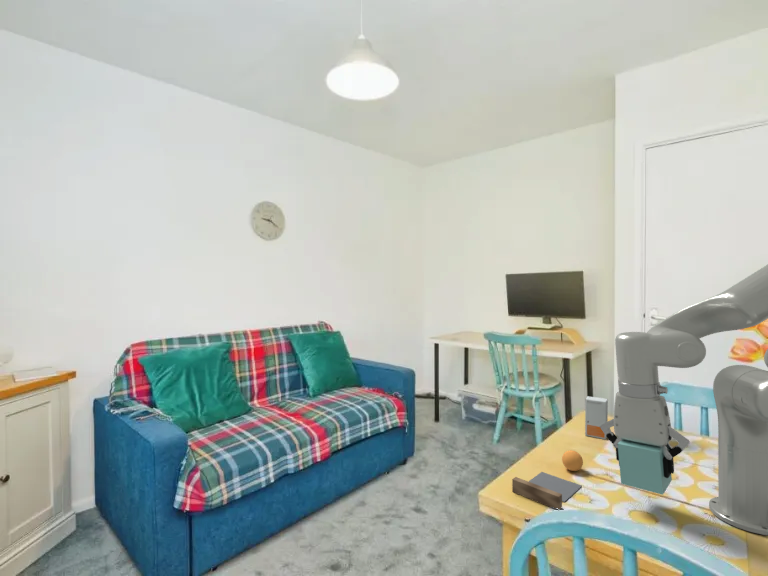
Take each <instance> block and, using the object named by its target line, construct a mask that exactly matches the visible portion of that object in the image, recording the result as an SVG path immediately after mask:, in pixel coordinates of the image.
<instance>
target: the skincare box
mask: <svg viewBox="0 0 768 576" xmlns="http://www.w3.org/2000/svg"><path fill="white" fill-rule="evenodd" d="M608 401H609V399H608V398H604V397H597V396H589V395H587V396H586V398H585V404H584V405H585V409H584V410H585V414H584V417H585V418H584V423H585V424H584V425H585V427H584V428H585V429H584V430H585V432H584V435H585V437H592V438H597V439H601V440H604V441H605V440H607V439H608V438H607V437H606V435H605V434H604V432H603V431H602V430H601V428H600V426H601V425H602V424H604V423H606V422H608V421H609V419H608V412H609V410H608V407H609V405H608V404H609V403H608Z"/></svg>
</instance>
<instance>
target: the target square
mask: <svg viewBox="0 0 768 576" xmlns="http://www.w3.org/2000/svg"><path fill="white" fill-rule="evenodd" d="M527 481H528V482H531V483H533V484H536V485H539V486H541V487H544V488H547V489H549V490H552V491H555V492H557V493H560V494H562V501H563V502H562V503H565V501H566V500H567V499H568V498H569V499H570V498H571V497H572V496H573V495H574V494H576V493H577V490H578V489H579V488H580V489H582V487H581V486H582V485H581V484H579V483H575V482H573V481H571V480H567V479H564V478H561V477H558V476H555V475H552V474H550V473H547V472H543V471H541V472H539V473H538V474H537V475H535V476H534V477H532V478H531V479H530V480H527ZM580 489H579V490H580ZM579 490H578V491H579ZM569 499H568V500H569ZM568 500H567V501H568ZM567 501H566V502H567Z"/></svg>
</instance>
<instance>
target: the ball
mask: <svg viewBox="0 0 768 576" xmlns="http://www.w3.org/2000/svg"><path fill="white" fill-rule="evenodd" d="M561 461H562V464H563V465H564V468H566V469H567V470H569V471H571V472H576V471H580V470H581V469H582V468H583V465H584V460H583V458H582V456H581V454H580V453H579V452H577V451H575V450H572V449H571V450H570V449H569V450H566V451H564V453H563V454H562V456H561Z"/></svg>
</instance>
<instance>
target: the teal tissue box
mask: <svg viewBox="0 0 768 576" xmlns="http://www.w3.org/2000/svg"><path fill="white" fill-rule="evenodd" d="M669 442H670V441H668V443H669ZM669 444H670V443H669ZM618 454H619V461H618V466H619V465H620V466H619V474H620V475H619V476H620V483H621V485H625V486H629V487H633V488H636V489H640V490H643V491H647V492H651V493H655V494H658V495H664V494H665V492H666V490H668V487H669V486H670V484H671V482H672V481H673V477H672V476H673V475H672V474H671V475H670V476H669V478H665V477H664V470H663V458H664V454H663V453H662V448H659V447H658V446H653V445H648V444H643V443H638V442H633V441H628V440H624V441H620V442H619V443H618Z"/></svg>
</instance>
